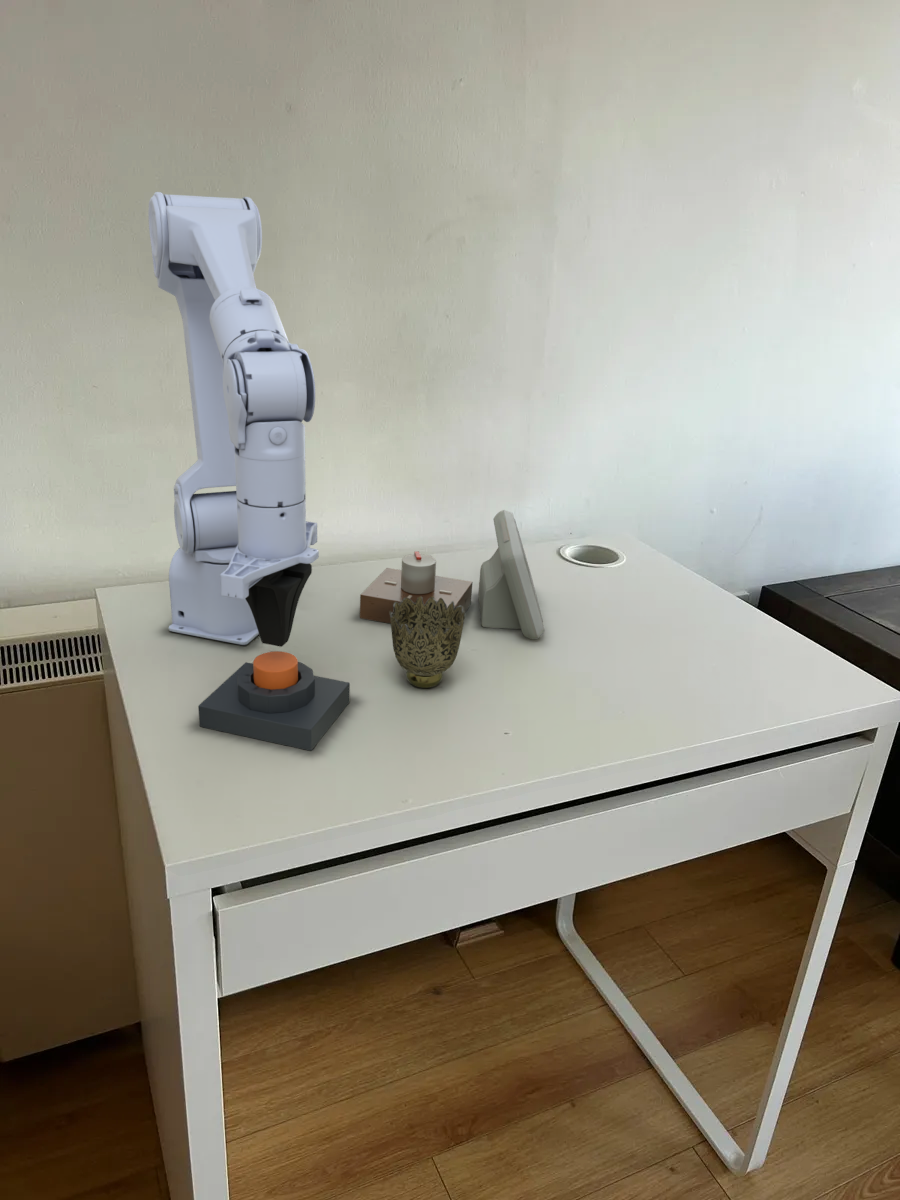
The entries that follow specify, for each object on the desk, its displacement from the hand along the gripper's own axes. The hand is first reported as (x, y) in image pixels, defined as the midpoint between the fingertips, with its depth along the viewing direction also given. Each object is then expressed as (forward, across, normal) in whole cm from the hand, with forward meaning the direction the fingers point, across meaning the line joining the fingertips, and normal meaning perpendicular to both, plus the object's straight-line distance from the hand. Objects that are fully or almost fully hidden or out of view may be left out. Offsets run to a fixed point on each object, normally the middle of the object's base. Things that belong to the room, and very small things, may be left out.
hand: (275, 641), depth 81 cm
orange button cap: (+4, 0, 0) cm, 4 cm away
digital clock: (+8, +31, -16) cm, 36 cm away
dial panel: (+8, +27, -5) cm, 28 cm away
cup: (+8, +11, -11) cm, 17 cm away
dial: (+5, +27, -5) cm, 28 cm away
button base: (+8, 0, 0) cm, 8 cm away
